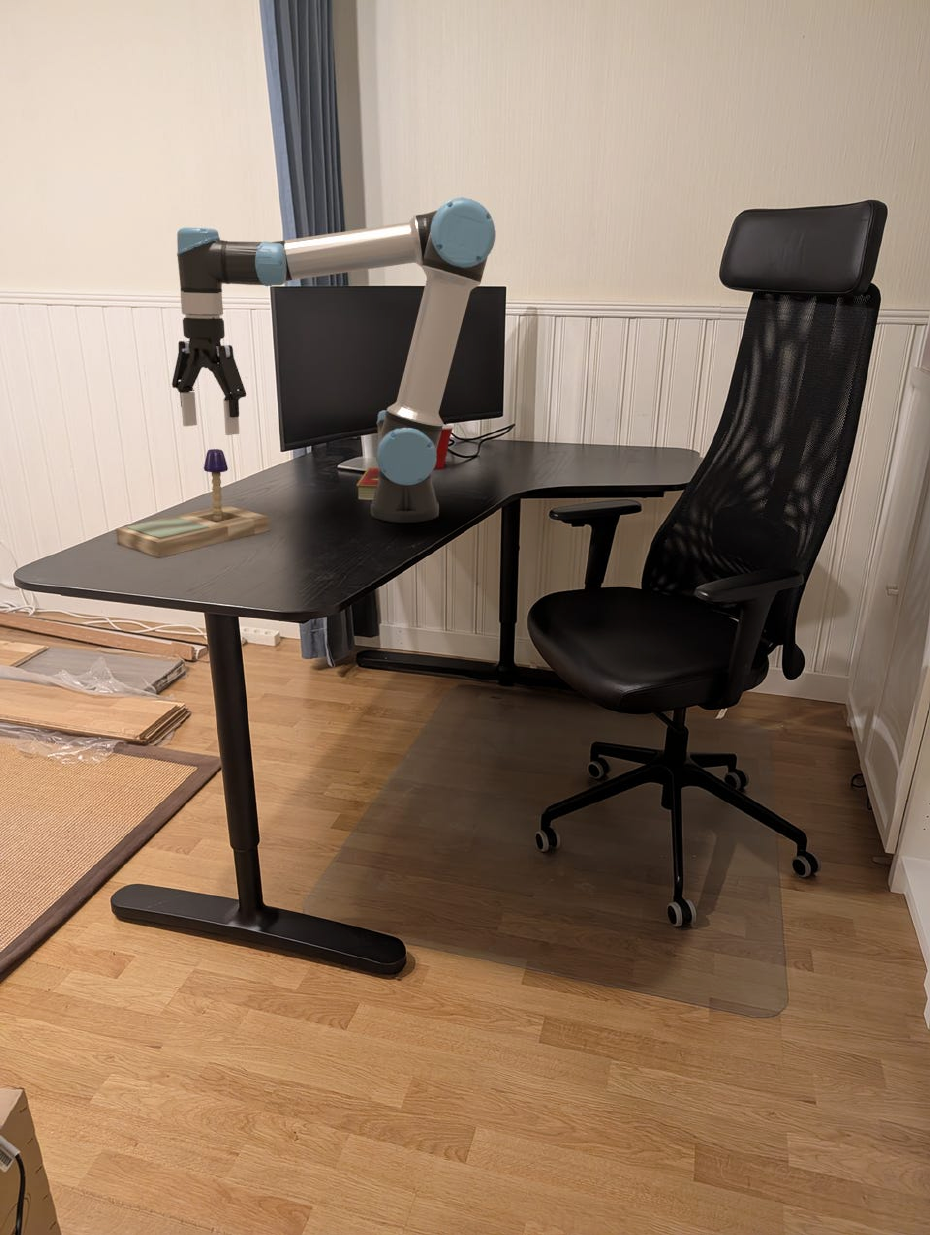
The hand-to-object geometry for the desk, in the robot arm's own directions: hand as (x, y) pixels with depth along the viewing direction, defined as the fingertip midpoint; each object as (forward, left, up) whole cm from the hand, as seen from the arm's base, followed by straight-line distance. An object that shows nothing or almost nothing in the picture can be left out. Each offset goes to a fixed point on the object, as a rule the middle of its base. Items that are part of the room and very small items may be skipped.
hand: (210, 430), depth 177 cm
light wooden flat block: (0, +6, -21) cm, 21 cm away
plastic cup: (+11, -81, -21) cm, 85 cm away
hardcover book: (+1, -51, -21) cm, 55 cm away
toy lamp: (0, 0, -21) cm, 21 cm away
